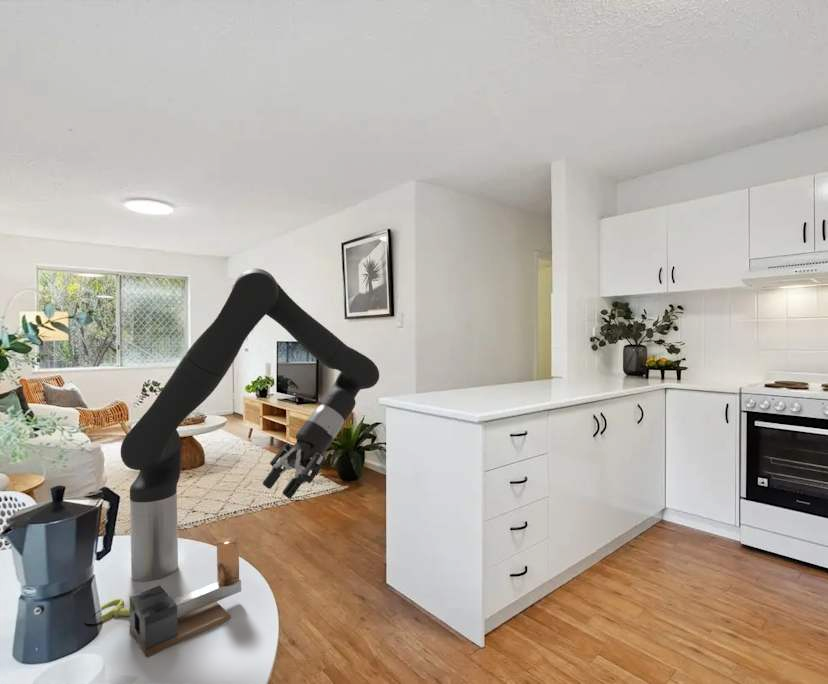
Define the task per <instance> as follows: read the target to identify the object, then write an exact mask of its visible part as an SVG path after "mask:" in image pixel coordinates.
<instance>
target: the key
mask: <svg viewBox="0 0 828 684" xmlns="http://www.w3.org/2000/svg"><path fill="white" fill-rule="evenodd" d="M113 605H115V607H113V608H112V609H110V610H109V611H107V612H105V613H103V614H101V615H102V619H103V622H105V621H107V620H110V619H111V618H112V617H113V616H114V617H115V618H119V617H121V616H122V617H123V616H124V617H126V616H127V617H130V608H124V606H125V601H124V599H123V598H115V599H112V600H110V601H108V602H106V603H103V604H102V605H101V609H102V610H101V611H103V610H105V609H106V608H108V607H111V606H113Z"/></svg>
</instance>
